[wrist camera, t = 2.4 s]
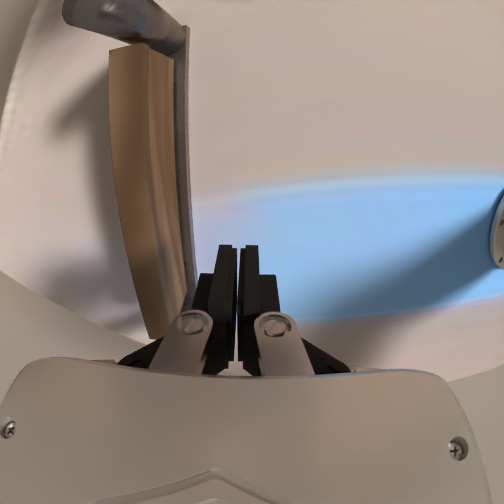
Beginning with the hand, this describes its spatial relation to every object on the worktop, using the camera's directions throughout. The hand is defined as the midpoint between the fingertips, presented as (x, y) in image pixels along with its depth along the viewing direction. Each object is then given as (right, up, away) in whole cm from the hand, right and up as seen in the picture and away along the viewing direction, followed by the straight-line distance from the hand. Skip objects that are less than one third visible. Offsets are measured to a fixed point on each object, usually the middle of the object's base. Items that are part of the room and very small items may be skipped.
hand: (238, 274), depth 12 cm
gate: (-6, +6, +8) cm, 12 cm away
